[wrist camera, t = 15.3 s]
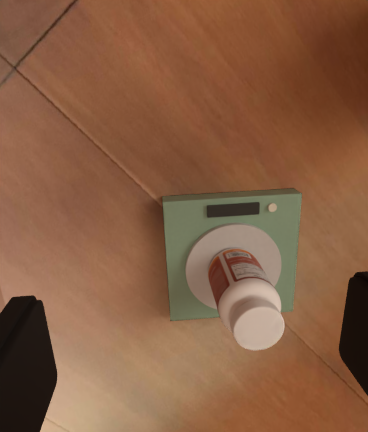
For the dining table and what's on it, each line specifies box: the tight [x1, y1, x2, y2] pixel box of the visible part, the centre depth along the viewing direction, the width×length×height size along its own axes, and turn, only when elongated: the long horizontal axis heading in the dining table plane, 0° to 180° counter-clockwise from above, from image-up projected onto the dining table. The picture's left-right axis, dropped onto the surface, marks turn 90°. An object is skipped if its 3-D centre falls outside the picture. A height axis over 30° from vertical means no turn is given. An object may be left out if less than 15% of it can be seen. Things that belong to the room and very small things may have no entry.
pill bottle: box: [208, 248, 284, 350], centre depth 35 cm, size 6×6×11 cm
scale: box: [162, 188, 302, 321], centre depth 41 cm, size 16×16×3 cm
